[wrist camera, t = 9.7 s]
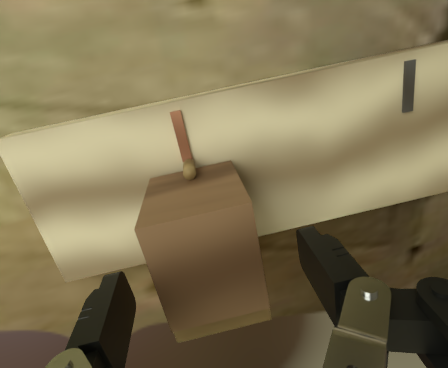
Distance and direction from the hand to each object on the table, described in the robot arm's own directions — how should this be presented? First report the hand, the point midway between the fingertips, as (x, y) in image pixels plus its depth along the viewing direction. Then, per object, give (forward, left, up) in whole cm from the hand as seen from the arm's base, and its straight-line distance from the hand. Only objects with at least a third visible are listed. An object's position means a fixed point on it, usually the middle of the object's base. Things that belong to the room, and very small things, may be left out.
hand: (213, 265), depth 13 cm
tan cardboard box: (0, 0, -7) cm, 7 cm away
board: (-2, +4, -8) cm, 9 cm away
